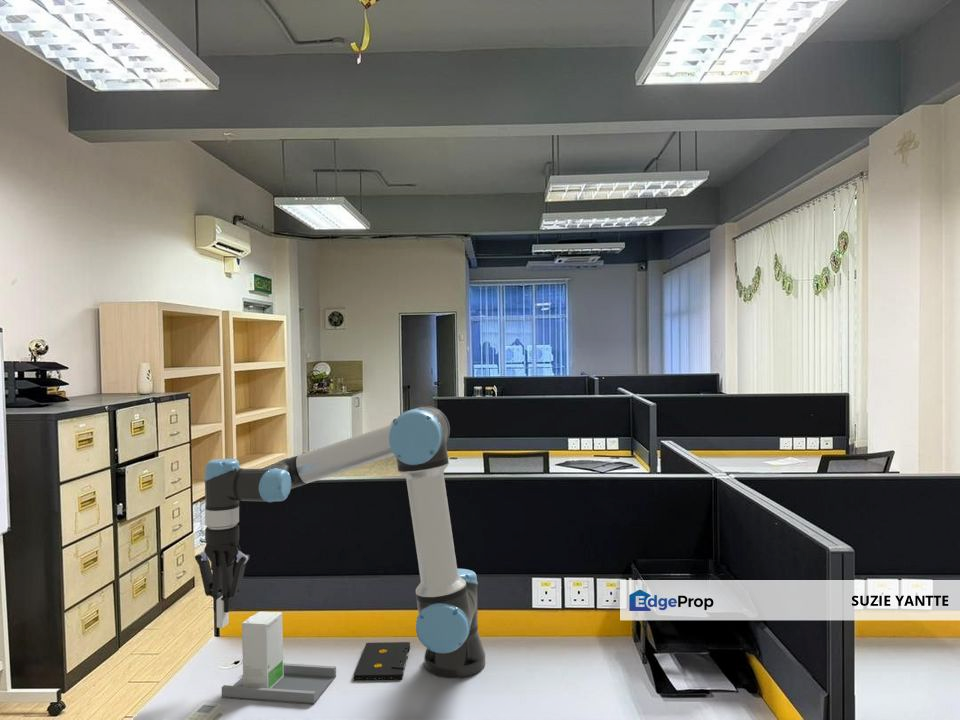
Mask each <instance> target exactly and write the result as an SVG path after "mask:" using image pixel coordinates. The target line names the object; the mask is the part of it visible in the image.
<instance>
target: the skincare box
mask: <svg viewBox="0 0 960 720" xmlns="http://www.w3.org/2000/svg"><path fill="white" fill-rule="evenodd" d="M283 631H284V629H283V612H281V611H258V612H256V613H255V614H254V615H251V616H249V617H248V618H247V619H245V620H244V621H243V622H242V623H241V635H242V637H241V640H242V643H241V645H242V646H241V648H242V649H241V650H242V651H241V652H242V677H243V686H244V687H259V688H273V687H274V686H275V685H276V684H277V683H278V682H279V681H280V680H281V679H282V678H283V677H284V669H283V663H284V641H283V640H284V639H283V637H284V636H283V635H284V634H283Z"/></svg>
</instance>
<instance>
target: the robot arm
mask: <svg viewBox="0 0 960 720" xmlns="http://www.w3.org/2000/svg"><path fill="white" fill-rule="evenodd" d="M450 433H451V427H450V422H449V420H448V417H447V416H446V415H445V414H444V412H442V410H440V409H438V408H436V407H434V406H431V405H430V406H429V405H422V406H419V407H418V406H417V407H415V408H412V409H409V410H406V411H403V412H402V413H400V415H398V417H396V418H393V419H392V421H391V423H390V424H389V425H386V426H382V427H380V428H376V429H372V430H370V431H368V432H365V433H364V432H363V433H361V434H358V435H356V436H352V437H349V438H346V439H343V440H340V441H337V442H333V443H332V444H328V445H326V446H325V445H324V446H322V447H318V448H316V449H313V450H309V451H308V452H304V453H301V454H299V455H296V456H295V455H294V456H291V457H289V458H284V459H282V460H278V461H277V462H275V463H273V464H269V465H267V466H264V467H261V468H241V466H240V462H239V460H238V459H235V458H218V459H212V460H209V461H208V462H206V464H205V467H204V469H205V472H204V479H203V480H204V481H203V482H204V492H205V493H204V497H205V498H204V500H205V502H204V503H205V505H204V507H205V508H204V525H205V529H204V538H205V539H204V542H205V546H204V550H203V551H202V552H200V553H198V554H197V555H195V556H194V559H195V561H196V563H197V564H198V568H199V571H200V575H201V581H202V585H203V589H204V594H205V596H207V597H212V598H213V599H212V600H213V612H214V613H216V628H219V629H221V628H225V627H226V626H227V625H229V622H230V621H229V620H230V619H229V618H230V615H229V614H230V612H231V611H232V609H233V608H232V607H233V603H232V602H233V598H234V597H236V595H239V594H240V593H241V589H242V588H241V587H242V584H243V579H244V574H245V570H246V565H247V563H248V561H249V560H250V557H251V556H250V554H247V553H246V554H245V553H243V552H242V551H241V546H240V544H239V541H240V525H239V524H238V523H239V522H240V502H267V503H274V502H283V501H285V500H286V499H287V498H288V496H289V495H290V494H291V490H293V489H295V488H298V487H301V486H304V485H306V484H309V483H314V482H315V481H318V480H319V481H320V480H322V479H325V478H329V477H331V476H334V475H337V474H341V473H345V472H348V471H350V470H353V469H357V468H359V467H363V466H366V465H368V464H372V463H375V462H378V461H381V460H385V459H387V458H391V457H393V456H395V458H396V465H397V471H398V474H400V475H402V476H403V477H404V478H405V480H406V486H407V493H408V494H407V495H408V501H409V508H410V516H411V521H412V522H411V523H412V529H413V536H414V542H415V543H414V544H415V550H416V555H417V556H416V558H417V563H418V564H417V565H418V571H419V579H420V582H419V584H418V585H417V587H416V588H415V597H416V604H417V605H416V606H417V611H418V612H417V613H418V615H417V617H416V620H415V631H416V632H415V633H416V636H417V639H418V641H419V642H420V643H421V645H423V647H425V648H426V649H425V651H424V658H423V659H424V661H423V662H424V663H423V664H424V668H425V670H426V671H427V672H429V673H430V674H431V675H435V676H436V677H439V678H440V677H442V678H449V679H454V678H456V679H457V678H465V677H469V676H473V675H475V674H476V673H480V672H481V671H482V670H483V669H484V668H485V666H486V652H485V649H484V646H483V643H482V640H481V637H480V634H479V626H478V625H479V624H478V623H479V619H478V617H479V616H478V615H479V613H478V584H479V582H478V579H477V578H478V577H477V574H476V572H475V571H473V570H472V569H471V570H470V569H468V568H467V569H466V568H458V564H457V558H456V552H455V544H454V537H453V536H454V535H453V531H452V522H451V516H450V515H451V514H450V509H449V502H448V496H447V488H446V481H445V474H444V472H445V470H446V469H447V467H448V466H449V464H450V463H449V455H448V449H447V448H448V447H447V442H448V441H449V438H450ZM235 561H236V564H235ZM234 564H235V565H236V566H235V565H234ZM234 566H235V569H234ZM233 570H234V572H233Z"/></svg>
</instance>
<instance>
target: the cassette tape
mask: <svg viewBox="0 0 960 720" xmlns="http://www.w3.org/2000/svg"><path fill="white" fill-rule="evenodd" d="M410 650H411V642H409V641H397V642H396V641H393V642H391V641H390V642H388V641H387V642H383V641H382V642H379V641H377V642H365V645H364V648H363V650H362V652H361V655H360V657H359V661H358V662H357V665H356V667H355V670H354V672H353V682H369V681H370V682H373V681H374V682H375V681H379V682H380V681H381V682H382V681H403V677H404V669H405V668H406V665H407V660H406V659H407V657H408V655H409V651H410Z"/></svg>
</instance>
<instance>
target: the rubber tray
mask: <svg viewBox="0 0 960 720" xmlns="http://www.w3.org/2000/svg"><path fill="white" fill-rule="evenodd" d="M283 669H284V677H283V678H282V679H281V680H280V681H279V682H278V683H277V684H276V685H275V686H274V687H273V688H259V687H244V686H243V676H241V678H240V679H239V680H237V681H236V682H235V683H234V684H233V685H229V684H227V685H226V684H223V685H222V686H221V699H232V700H233V699H234V700H245V701H246V700H247V701H257V702H259V701H260V702H261V701H262V702H272V703H273V702H275V703H288V704H300V705H301V704H303V705H313V706H314V705H315V704H316V703H317V701H318V700H319V699H320V698H321V696H322V695H323V694H324V692H326V690H327V689H328V688H329V686H330V685H331V684H332V683H333V681H334V680H335V679H336V677H337V666H335V665H333V666H332V665H316V664H302V663H287V662H286V663H285V662H283Z"/></svg>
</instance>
